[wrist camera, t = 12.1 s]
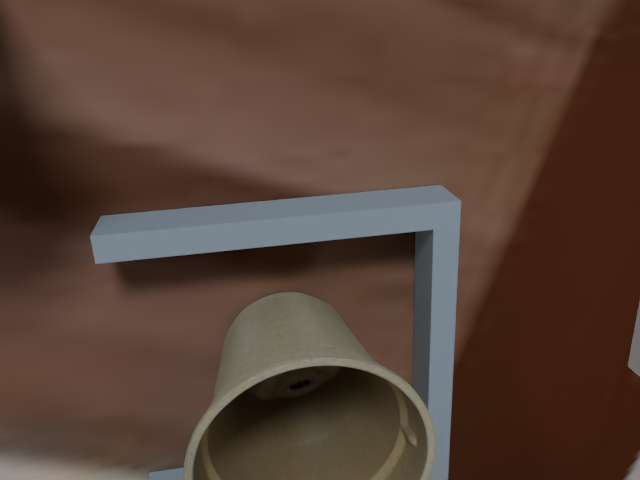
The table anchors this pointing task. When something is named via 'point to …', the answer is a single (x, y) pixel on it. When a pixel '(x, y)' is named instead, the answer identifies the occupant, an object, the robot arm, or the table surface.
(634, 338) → the robot arm
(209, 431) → the flower pot
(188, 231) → the tray
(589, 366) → the table surface
